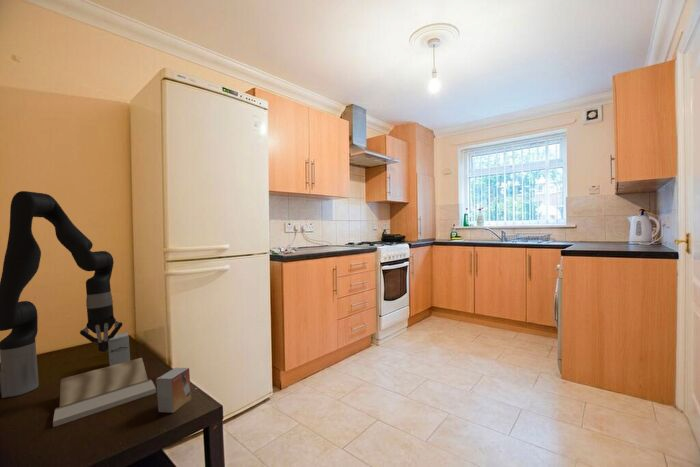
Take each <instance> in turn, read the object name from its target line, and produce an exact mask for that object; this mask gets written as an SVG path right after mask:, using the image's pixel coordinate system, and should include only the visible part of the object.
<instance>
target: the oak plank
mask: <svg viewBox="0 0 700 467" xmlns="http://www.w3.org/2000/svg"><path fill="white" fill-rule="evenodd" d="M147 380H149V378H148V375H147V372H146V368H145V363H144V361H143V358H142V357H138V358H135V359H132V360H131V359H130V361H127V362H123V363H120V364H116V365H112V366H110V365H109V366H108V365H107V366H105V367H102V368H98V369H97V368H96V369H93V370H89V371H87V372H82V373H78V374H75V375H72V376H71V375H70V376H68V377H64V378H63V377H62V378H60V388H59V390H60V391H59V407H62V406H65V405H68V404H72V403H75V402H78V401H81V400H85V399H88V398H91V397H94V396H98V395H101V394H104V393H108V392H111V391H114V390H117V389H121V388H124V387H127V386H130V385H134V384H137V383H140V382H143V381H147Z"/></svg>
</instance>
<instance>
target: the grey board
mask: <svg viewBox="0 0 700 467" xmlns="http://www.w3.org/2000/svg"><path fill="white" fill-rule="evenodd" d="M153 394H157V387H156V385H155V384H154V382H153V380H152V379H148V380H147V381H143V382H140V383H137V384H134V385H130V386H127V387H124V388H121V389H117V390H114V391H111V392H108V393H104V394H101V395H98V396H94V397H91V398H88V399H85V400H81V401H78V402H75V403H72V404H68V405H65V406H62V407H60V406H59V407H56V408H55V409H54V414H53V420H52V425H53V426H52V428H54V427H55V428H56V427H58V426H60V425H64V424H67V423H70V422H73V421H76V420H79V419H82V418H84V417H87V416H91V415H94V414H97V413H101V412H103V411H105V410H108V409H112V408H115V407H117V406H121V405H124V404H126V403H129V402H132V401H135V400H139V399H141V398H144V397H147V396H150V395H153Z"/></svg>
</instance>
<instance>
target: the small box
mask: <svg viewBox="0 0 700 467" xmlns="http://www.w3.org/2000/svg"><path fill="white" fill-rule="evenodd" d="M190 378H191V375H190V367H174V368H172V369H171V370H169V371H168V372H165V373H163V374H162V375H160V376H158V377H156V378H155V380H156V382H155V383H156V394H157V396H156V397H157V409H158V412H159V413H170V414H171V413H175V412H176V411H177V410H179V409H180V408H181V407H183V406H185V405H186V404H187V403H188V402H190V401H191V400H192V393H191V392H192V390H191V379H190Z"/></svg>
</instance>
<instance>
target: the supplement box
mask: <svg viewBox="0 0 700 467" xmlns="http://www.w3.org/2000/svg"><path fill="white" fill-rule="evenodd" d="M129 337H130V336H129V332H122V333H116V335H115V336H114V337H113V338H111V339H109V340H108V347H109V348H108V350H107V352H108V363H109V364H108V365H109V366H112V365H116V364H120V363H123V362H127V361H131V354H130V352H131V351H130V338H129Z"/></svg>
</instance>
